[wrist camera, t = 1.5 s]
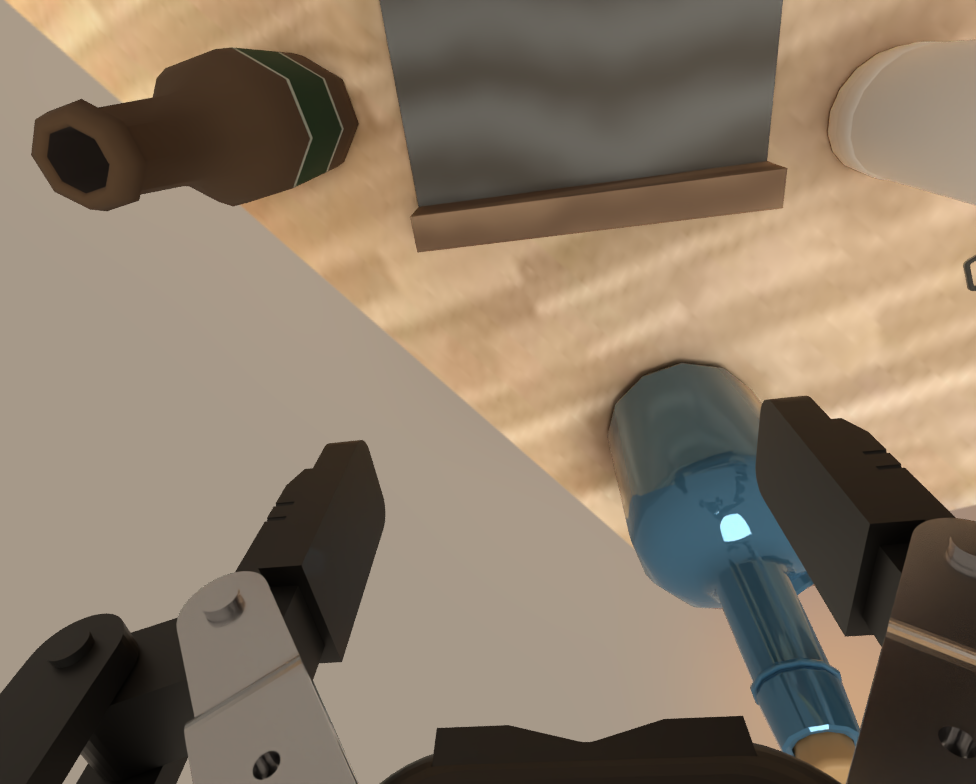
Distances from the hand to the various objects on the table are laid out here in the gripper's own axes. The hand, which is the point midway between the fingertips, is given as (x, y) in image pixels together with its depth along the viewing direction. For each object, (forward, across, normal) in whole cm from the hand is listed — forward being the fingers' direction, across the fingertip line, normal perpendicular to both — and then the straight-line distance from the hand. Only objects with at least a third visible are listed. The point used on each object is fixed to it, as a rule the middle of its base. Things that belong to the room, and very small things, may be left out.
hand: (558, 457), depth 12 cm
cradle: (+34, -4, -7) cm, 35 cm away
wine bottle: (+35, -11, +22) cm, 43 cm away
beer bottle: (+35, +15, -7) cm, 39 cm away
